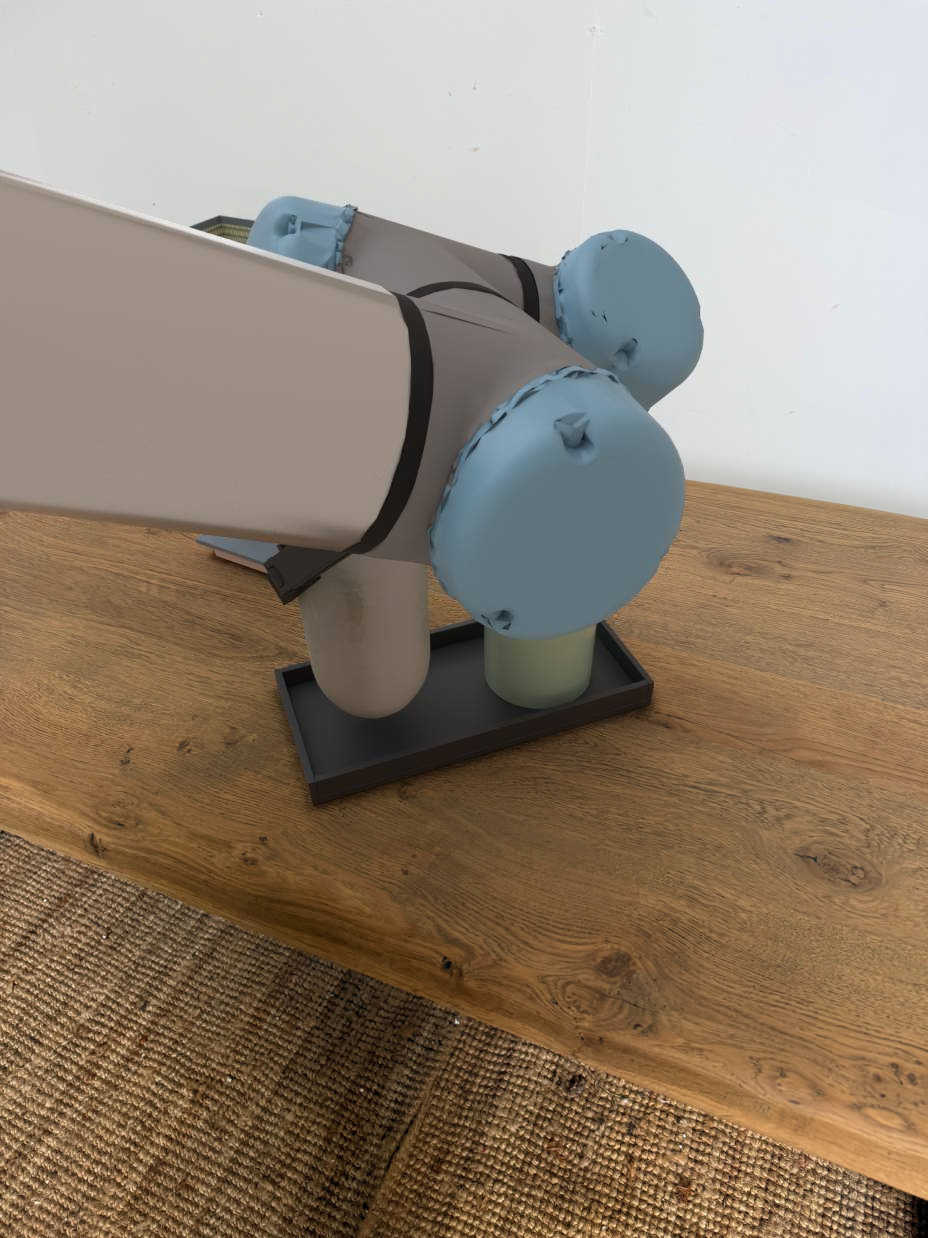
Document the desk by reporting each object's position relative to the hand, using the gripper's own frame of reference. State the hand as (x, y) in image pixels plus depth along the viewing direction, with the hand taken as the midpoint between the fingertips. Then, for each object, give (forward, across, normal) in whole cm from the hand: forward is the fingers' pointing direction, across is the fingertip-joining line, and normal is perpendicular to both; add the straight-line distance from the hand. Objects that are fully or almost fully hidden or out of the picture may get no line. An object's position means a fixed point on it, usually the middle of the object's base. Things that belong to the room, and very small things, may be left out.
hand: (337, 556), depth 68 cm
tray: (+7, +7, -16) cm, 19 cm away
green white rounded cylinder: (+8, 0, -12) cm, 14 cm away
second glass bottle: (+5, +14, -18) cm, 23 cm away
